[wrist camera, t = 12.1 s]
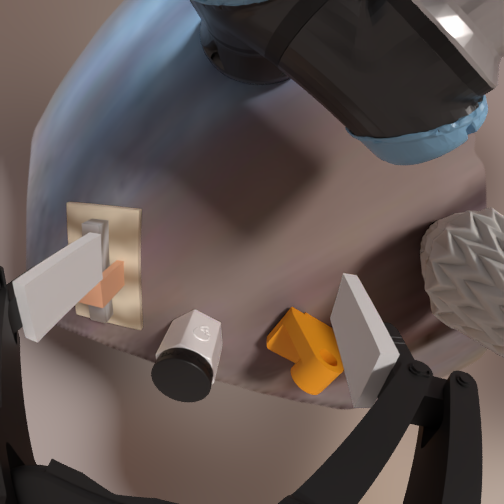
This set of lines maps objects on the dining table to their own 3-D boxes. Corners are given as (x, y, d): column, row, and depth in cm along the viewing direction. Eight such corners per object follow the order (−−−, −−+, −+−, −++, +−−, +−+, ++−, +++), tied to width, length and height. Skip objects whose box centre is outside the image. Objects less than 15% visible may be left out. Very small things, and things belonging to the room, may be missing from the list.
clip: (80, 253, 44) (54, 271, 37) (123, 261, 44) (100, 281, 37) (82, 276, 45) (58, 296, 38) (124, 285, 45) (103, 308, 38)
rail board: (70, 201, 42) (55, 207, 38) (141, 208, 42) (130, 215, 38) (79, 311, 49) (68, 322, 45) (143, 327, 49) (134, 340, 45)
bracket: (264, 336, 48) (262, 389, 37) (291, 303, 46) (297, 353, 34) (316, 364, 49) (325, 416, 38) (344, 335, 47) (361, 385, 36)
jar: (234, 327, 48) (224, 378, 36) (212, 360, 50) (199, 411, 39) (182, 300, 46) (159, 346, 35) (164, 336, 49) (141, 384, 38)
